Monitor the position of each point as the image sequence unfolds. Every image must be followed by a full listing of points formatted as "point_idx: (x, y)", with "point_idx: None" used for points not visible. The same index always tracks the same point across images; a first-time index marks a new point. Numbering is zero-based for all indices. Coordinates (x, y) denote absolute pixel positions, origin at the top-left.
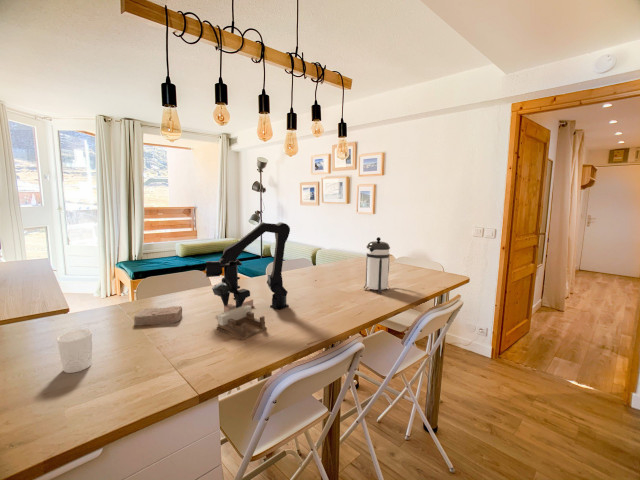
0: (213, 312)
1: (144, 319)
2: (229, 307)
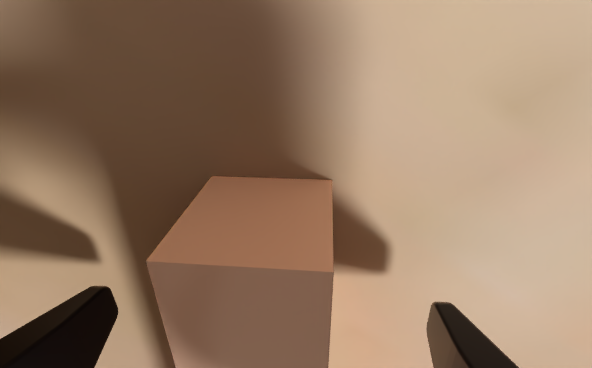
0: (555, 72)
1: None
2: (160, 290)
